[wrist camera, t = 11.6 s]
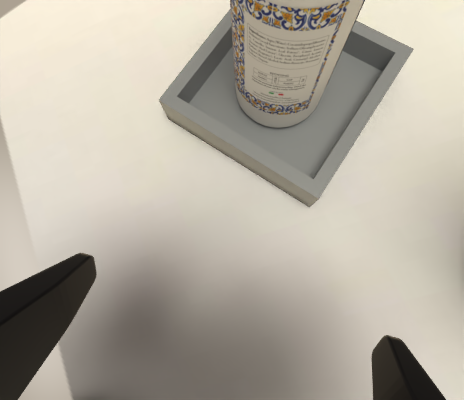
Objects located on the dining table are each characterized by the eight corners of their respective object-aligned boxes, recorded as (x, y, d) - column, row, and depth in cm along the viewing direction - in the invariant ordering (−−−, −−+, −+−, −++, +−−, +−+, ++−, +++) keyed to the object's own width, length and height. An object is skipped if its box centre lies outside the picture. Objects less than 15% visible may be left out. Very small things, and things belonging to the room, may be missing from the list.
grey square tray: (309, 207, 23) (318, 198, 20) (168, 119, 25) (158, 100, 22) (394, 74, 25) (413, 49, 22) (257, 3, 27) (258, -28, 24)
